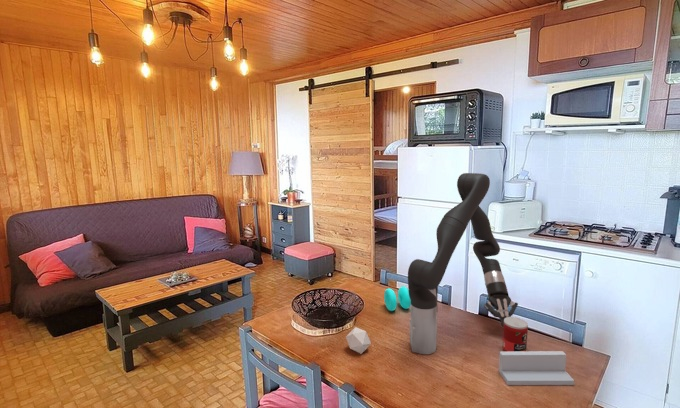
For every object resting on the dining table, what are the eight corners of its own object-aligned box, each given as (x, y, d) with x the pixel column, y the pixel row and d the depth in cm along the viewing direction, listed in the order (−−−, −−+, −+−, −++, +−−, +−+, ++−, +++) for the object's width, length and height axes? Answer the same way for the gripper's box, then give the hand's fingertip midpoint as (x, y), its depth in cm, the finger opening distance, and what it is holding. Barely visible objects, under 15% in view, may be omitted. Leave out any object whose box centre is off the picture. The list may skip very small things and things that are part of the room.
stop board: (507, 385, 112) (508, 364, 111) (498, 371, 119) (499, 351, 118) (574, 385, 111) (575, 364, 110) (561, 370, 118) (562, 351, 117)
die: (375, 351, 134) (369, 324, 138) (368, 351, 126) (361, 323, 131) (355, 356, 136) (349, 330, 140) (346, 357, 129) (341, 329, 133)
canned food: (517, 359, 125) (518, 329, 123) (497, 348, 132) (498, 319, 130) (531, 352, 128) (533, 323, 127) (511, 342, 135) (512, 314, 134)
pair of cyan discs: (383, 305, 169) (383, 285, 168) (403, 302, 172) (403, 282, 170) (391, 315, 160) (391, 293, 158) (412, 312, 162) (412, 291, 160)
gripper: (481, 281, 144) (491, 325, 134) (515, 280, 143) (528, 324, 133) (476, 288, 150) (486, 331, 140) (509, 287, 149) (521, 330, 139)
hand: (506, 327), depth 136 cm, fingers closed
